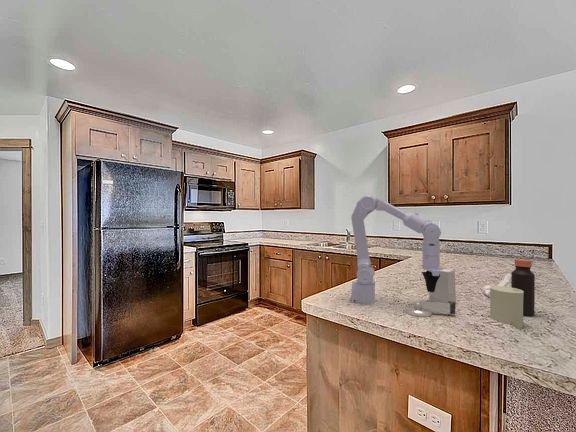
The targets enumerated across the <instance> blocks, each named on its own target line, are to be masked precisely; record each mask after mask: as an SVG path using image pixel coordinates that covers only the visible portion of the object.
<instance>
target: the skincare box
mask: <svg viewBox="0 0 576 432" xmlns="http://www.w3.org/2000/svg"><path fill="white" fill-rule="evenodd" d="M455 271H456V270H455V269H450V268H449V269H448V268H443V270H440V271H439V274H440V277H439V279H438V281H437V283H436V287H435V291H434V292H428V294H429V295H428V296H429V297H428V298H429V300H428V301H440V302H448V301H453V302H455V305H457V294H456V291H457V290H456V272H455Z"/></svg>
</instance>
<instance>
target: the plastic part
mask: <svg viewBox="0 0 576 432" xmlns="http://www.w3.org/2000/svg"><path fill="white" fill-rule="evenodd" d="M503 276H504V277H503V279H500V282H499V283H498V284H497V285H496V286H504V287H508V285H509V284H510V283H511V273H510V272H506V274H505V275H503ZM490 287H492V286H491V285H485V286H483V287H482V290H481V291H482V294H484V296H487V297H488V298H489V299H490Z"/></svg>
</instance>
